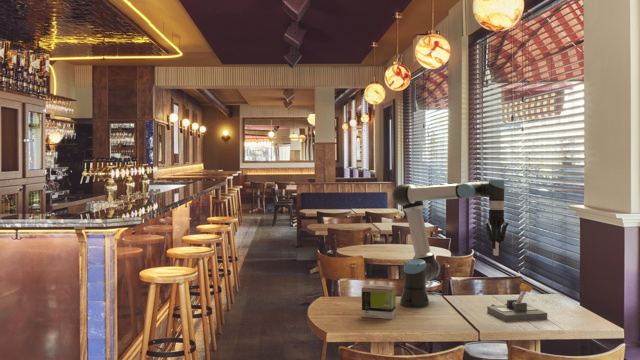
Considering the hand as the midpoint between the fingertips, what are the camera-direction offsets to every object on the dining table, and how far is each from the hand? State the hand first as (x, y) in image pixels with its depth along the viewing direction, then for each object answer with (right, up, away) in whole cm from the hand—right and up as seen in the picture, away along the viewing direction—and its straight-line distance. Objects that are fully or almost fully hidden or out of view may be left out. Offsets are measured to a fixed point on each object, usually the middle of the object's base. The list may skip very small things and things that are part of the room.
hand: (495, 255), depth 299 cm
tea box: (-61, -29, -11) cm, 68 cm away
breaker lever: (+7, -25, -10) cm, 28 cm away
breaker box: (+6, -28, -6) cm, 30 cm away
